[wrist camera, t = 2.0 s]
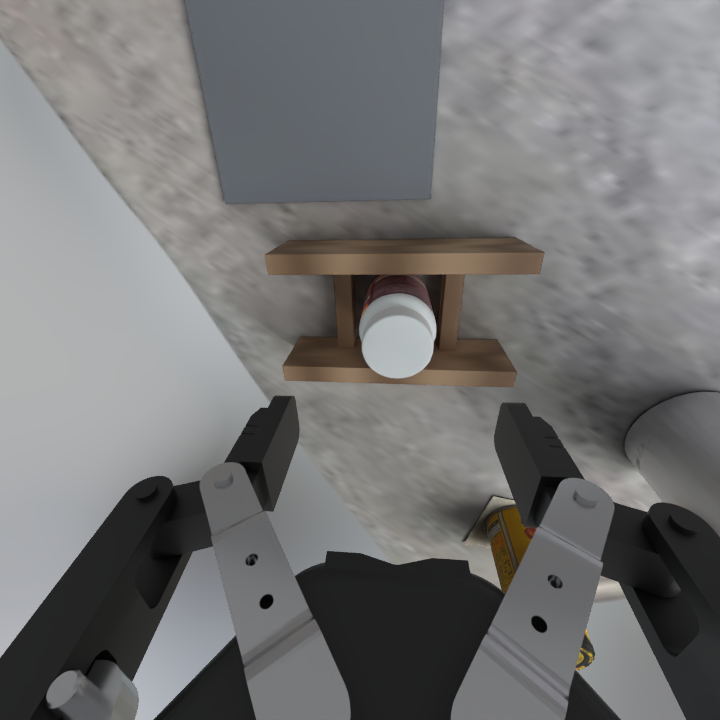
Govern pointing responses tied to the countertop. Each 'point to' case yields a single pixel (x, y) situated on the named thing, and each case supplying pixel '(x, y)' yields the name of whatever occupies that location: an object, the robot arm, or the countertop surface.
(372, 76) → the mat
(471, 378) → the wooden rack
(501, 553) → the condiment
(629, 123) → the countertop surface
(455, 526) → the countertop surface
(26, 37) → the countertop surface
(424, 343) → the pill bottle
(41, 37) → the countertop surface
